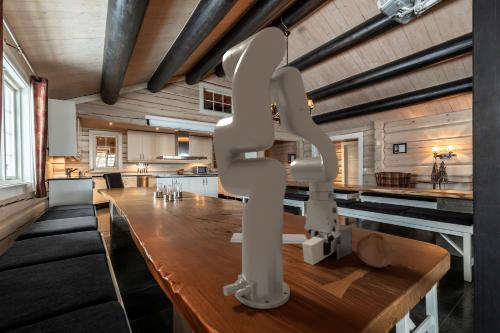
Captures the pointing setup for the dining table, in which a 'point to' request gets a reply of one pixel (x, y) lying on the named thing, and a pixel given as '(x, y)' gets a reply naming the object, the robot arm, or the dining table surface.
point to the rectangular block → (316, 248)
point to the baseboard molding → (286, 238)
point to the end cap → (344, 242)
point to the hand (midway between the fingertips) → (321, 252)
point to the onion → (375, 250)
